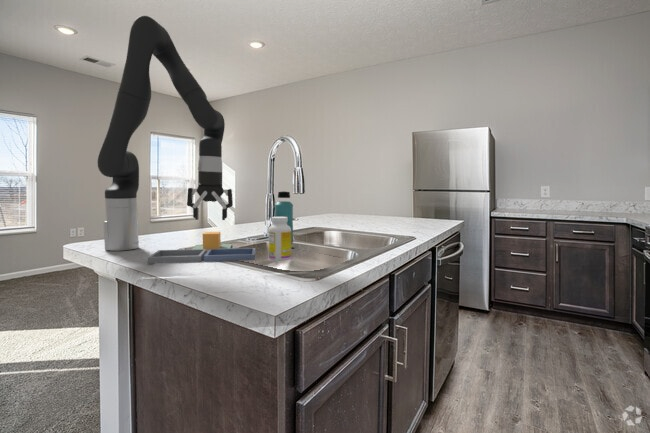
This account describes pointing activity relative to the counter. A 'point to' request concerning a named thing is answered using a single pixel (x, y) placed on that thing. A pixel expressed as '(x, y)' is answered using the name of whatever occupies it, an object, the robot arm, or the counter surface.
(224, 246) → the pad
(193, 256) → the grey tray
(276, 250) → the supplement bottle
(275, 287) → the counter surface
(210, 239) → the orange cube
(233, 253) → the navy tray
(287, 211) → the beverage bottle
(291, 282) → the counter surface
